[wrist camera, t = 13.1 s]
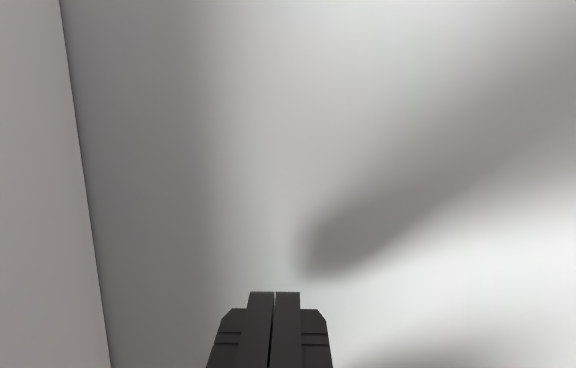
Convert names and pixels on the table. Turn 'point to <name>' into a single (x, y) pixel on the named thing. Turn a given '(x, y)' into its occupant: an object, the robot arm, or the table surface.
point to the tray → (43, 202)
